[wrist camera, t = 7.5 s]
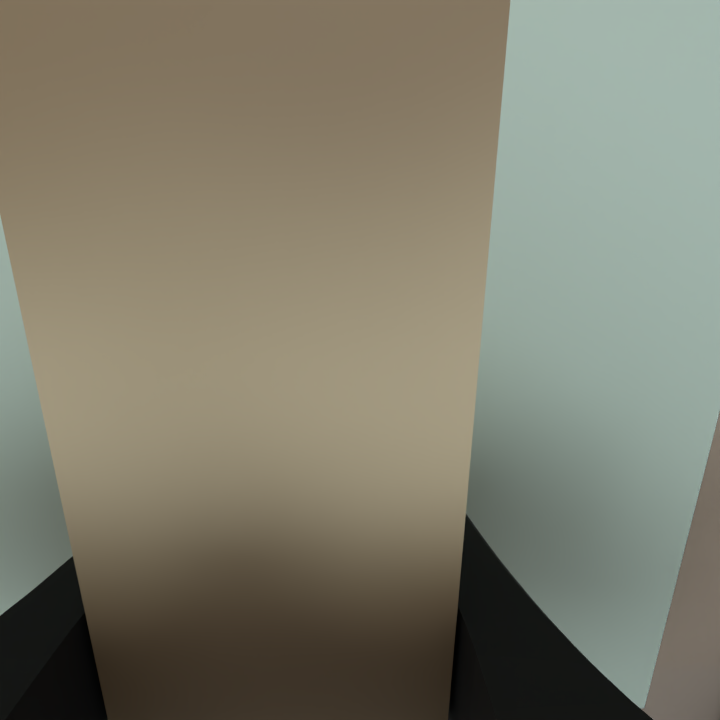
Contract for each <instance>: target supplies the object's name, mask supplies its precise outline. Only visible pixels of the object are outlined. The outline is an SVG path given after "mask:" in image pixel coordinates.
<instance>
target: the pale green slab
mask: <svg viewBox="0 0 720 720" xmlns="http://www.w3.org/2000/svg"><path fill="white" fill-rule="evenodd" d="M719 412H720V0H510V11H509V23H508V34H507V46H506V57H505V69H504V80H503V92H502V103H501V115H500V126H499V138H498V149H497V161H496V172H495V184H494V195H493V207H492V218H491V230H490V241H489V253H488V264H487V276H486V287H485V299H484V310H483V322H482V333H481V345H480V356H479V368H478V379H477V391H476V402H475V414H474V425H473V437H472V448H471V460H470V471H469V483H468V494H467V506H466V514H467V515H468V517H469V518H470V520H471V521H472V523H473V524H474V525H475V527H476V528H477V530H478V531H479V532H480V534H481V535H482V537H483V538H484V539H485V541H486V542H487V543H488V545H489V546H490V547H491V549H492V550H493V551H494V553H495V554H496V555H497V557H498V558H499V559H500V560H501V562H502V563H503V564H504V566H505V567H506V568H507V569H508V571H509V572H510V573H511V574H512V575H513V577H514V578H515V579H516V580H517V581H518V583H519V584H520V585H521V586H522V587H523V589H524V590H525V591H526V592H527V593H528V595H529V596H530V597H531V598H532V599H533V601H534V602H535V603H536V604H537V605H538V606H539V608H540V609H541V610H542V611H543V612H544V613H545V614H546V615H547V617H548V618H549V619H550V620H551V621H552V622H553V623H554V624H555V625H556V626H557V627H558V629H559V630H560V631H561V632H562V633H563V634H564V635H565V636H566V637H567V638H568V639H569V640H570V641H571V643H572V644H573V645H574V646H575V647H576V648H577V649H578V650H579V651H580V652H581V653H582V654H583V655H584V656H585V657H586V658H587V659H588V660H589V661H590V662H591V663H592V664H593V665H594V666H595V667H596V668H597V669H598V670H599V671H600V672H601V673H602V674H603V675H604V676H605V677H606V678H608V679H609V680H610V681H611V682H612V683H613V684H614V685H615V686H616V687H617V688H618V689H619V690H620V691H622V692H623V693H624V694H625V695H626V696H627V697H628V698H629V699H630V700H631V701H632V702H633V703H634V704H636V705H637V706H638V707H639V708H644V707H645V703H646V699H647V695H648V691H649V687H650V683H651V679H652V675H653V671H654V668H655V664H656V660H657V656H658V652H659V648H660V644H661V640H662V636H663V632H664V628H665V624H666V620H667V616H668V612H669V609H670V605H671V601H672V597H673V593H674V589H675V585H676V581H677V577H678V573H679V569H680V565H681V561H682V557H683V553H684V550H685V546H686V542H687V538H688V534H689V530H690V526H691V522H692V518H693V514H694V510H695V506H696V502H697V498H698V494H699V491H700V487H701V483H702V479H703V475H704V471H705V467H706V463H707V459H708V455H709V451H710V447H711V443H712V439H713V435H714V432H715V428H716V424H717V420H718V416H719ZM72 556H73V554H72V549H71V545H70V540H69V535H68V530H67V526H66V521H65V516H64V512H63V507H62V502H61V498H60V493H59V488H58V483H57V479H56V474H55V469H54V465H53V460H52V455H51V451H50V446H49V441H48V437H47V432H46V427H45V422H44V418H43V413H42V408H41V404H40V399H39V394H38V390H37V385H36V380H35V376H34V371H33V366H32V361H31V357H30V352H29V347H28V343H27V338H26V333H25V329H24V324H23V319H22V315H21V310H20V305H19V300H18V296H17V291H16V286H15V282H14V277H13V272H12V268H11V263H10V258H9V254H8V249H7V244H6V239H5V235H4V230H3V225H2V221H1V216H0V615H1V614H3V613H4V612H5V611H7V610H8V609H9V608H10V607H12V606H13V605H14V604H15V603H17V602H18V601H19V600H21V599H22V598H23V597H24V596H26V595H27V594H28V593H30V592H31V591H32V590H33V589H34V588H36V587H37V586H38V585H39V584H40V583H41V582H43V581H44V580H45V579H46V578H47V577H48V576H50V575H51V574H52V573H53V572H54V571H56V570H57V569H58V568H59V567H60V566H61V565H63V564H64V563H65V562H66V561H67V560H68V559H70V558H71V557H72Z"/></svg>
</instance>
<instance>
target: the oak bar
mask: <svg viewBox="0 0 720 720" xmlns="http://www.w3.org/2000/svg"><path fill="white" fill-rule="evenodd" d="M509 11H510V0H0V216H1V221H2V225H3V230H4V235H5V239H6V244H7V249H8V254H9V258H10V263H11V268H12V272H13V277H14V282H15V286H16V291H17V296H18V300H19V305H20V310H21V315H22V319H23V324H24V329H25V333H26V338H27V343H28V347H29V352H30V357H31V361H32V366H33V371H34V376H35V380H36V385H37V390H38V394H39V399H40V404H41V408H42V413H43V418H44V422H45V427H46V432H47V437H48V441H49V446H50V451H51V455H52V460H53V465H54V469H55V474H56V479H57V483H58V488H59V493H60V498H61V502H62V507H63V512H64V516H65V521H66V526H67V530H68V535H69V540H70V545H71V549H72V554H73V559H74V563H75V568H76V573H77V577H78V582H79V587H80V591H81V596H82V601H83V606H84V610H85V615H86V620H87V624H88V629H89V634H90V638H91V643H92V648H93V652H94V657H95V662H96V667H97V671H98V676H99V681H100V685H101V690H102V695H103V699H104V704H105V709H106V713H107V718H108V720H448V712H449V701H450V689H451V678H452V666H453V655H454V643H455V632H456V620H457V609H458V597H459V586H460V574H461V563H462V552H463V540H464V529H465V517H466V506H467V494H468V483H469V471H470V460H471V448H472V437H473V425H474V414H475V402H476V391H477V379H478V368H479V356H480V345H481V333H482V322H483V310H484V299H485V287H486V276H487V264H488V253H489V241H490V230H491V218H492V207H493V195H494V184H495V172H496V161H497V149H498V138H499V126H500V115H501V103H502V92H503V80H504V69H505V57H506V46H507V34H508V23H509Z"/></svg>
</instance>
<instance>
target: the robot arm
mask: <svg viewBox="0 0 720 720" xmlns="http://www.w3.org/2000/svg"><path fill="white" fill-rule="evenodd" d="M0 720H108V718H107V713H106V709H105V704H104V699H103V695H102V690H101V685H100V681H99V676H98V671H97V667H96V662H95V657H94V652H93V648H92V643H91V638H90V634H89V629H88V624H87V620H86V615H85V610H84V606H83V601H82V596H81V591H80V587H79V582H78V577H77V573H76V568H75V563H74V559H73V556H72V557H71V558H70V559H68V560H67V561H66V562H65V563H64V564H63V565H61V566H60V567H59V568H58V569H57V570H56V571H54V572H53V573H52V574H51V575H50V576H48V577H47V578H46V579H45V580H44V581H43V582H41V583H40V584H39V585H38V586H37V587H36V588H34V589H33V590H32V591H31V592H30V593H28V594H27V595H26V596H24V597H23V598H22V599H21V600H19V601H18V602H17V603H15V604H14V605H13V606H12V607H10V608H9V609H8V610H7V611H5V612H4V613H3V614H1V615H0ZM448 720H653V719H652V718H651V717H649V716H648V715H647V714H646V713H645V712H644V711H642V710H641V709H640V708H639V707H638V706H637V705H636V704H634V703H633V702H632V701H631V700H630V699H629V698H628V697H627V696H626V695H625V694H624V693H623V692H622V691H620V690H619V689H618V688H617V687H616V686H615V685H614V684H613V683H612V682H611V681H610V680H609V679H608V678H606V677H605V676H604V675H603V674H602V673H601V672H600V671H599V670H598V669H597V668H596V667H595V666H594V665H593V664H592V663H591V662H590V661H589V660H588V659H587V658H586V657H585V656H584V655H583V654H582V653H581V652H580V651H579V650H578V649H577V648H576V647H575V646H574V645H573V644H572V643H571V641H570V640H569V639H568V638H567V637H566V636H565V635H564V634H563V633H562V632H561V631H560V630H559V629H558V627H557V626H556V625H555V624H554V623H553V622H552V621H551V620H550V619H549V618H548V617H547V615H546V614H545V613H544V612H543V611H542V610H541V609H540V608H539V606H538V605H537V604H536V603H535V602H534V601H533V599H532V598H531V597H530V596H529V595H528V593H527V592H526V591H525V590H524V589H523V587H522V586H521V585H520V584H519V583H518V581H517V580H516V579H515V578H514V577H513V575H512V574H511V573H510V572H509V571H508V569H507V568H506V567H505V566H504V564H503V563H502V562H501V560H500V559H499V558H498V557H497V555H496V554H495V553H494V551H493V550H492V549H491V547H490V546H489V545H488V543H487V542H486V541H485V539H484V538H483V537H482V535H481V534H480V532H479V531H478V530H477V528H476V527H475V525H474V524H473V523H472V521H471V520H470V518H469V517H468V515H467V514H466V517H465V529H464V540H463V552H462V563H461V574H460V586H459V597H458V609H457V620H456V632H455V643H454V655H453V666H452V678H451V689H450V701H449V712H448Z"/></svg>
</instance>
